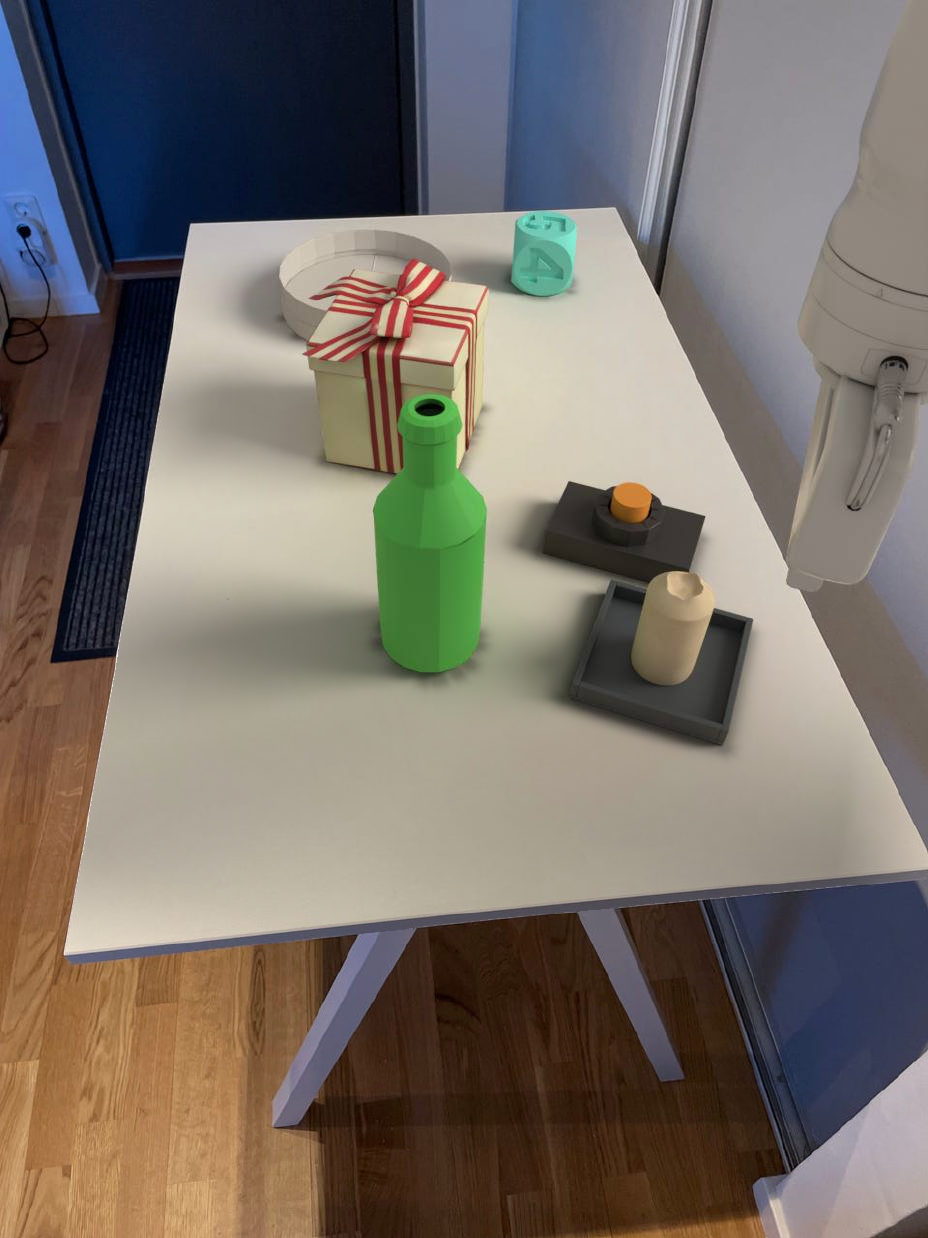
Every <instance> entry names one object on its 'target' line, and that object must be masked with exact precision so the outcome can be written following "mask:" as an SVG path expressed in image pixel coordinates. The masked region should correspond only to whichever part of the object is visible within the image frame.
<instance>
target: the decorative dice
mask: <svg viewBox="0 0 928 1238" xmlns="http://www.w3.org/2000/svg"><path fill="white" fill-rule="evenodd" d="M514 223H515V224H514V225H515V226H514V238H513V239H514V240H513V249H512V250H513V251H512V263H511V265H512V266H511V281H510V282H511V283H512V284H513V286H515V288H517V289H518V290H519V291H520V292H523V293H525V294H526V295H527V294H528V295H531V296H538V297H551V296H555V295H559V294H561V293H563V292H565V291H566V290H568V289H569V287H571V286H572V282H573V278H574V277H573V276H574V270H575V263H576V262H575V261H576V252H577V251H576V250H577V237H578V233H577V232H578V227H577V226H578V225H577V223H576V222H575V221H574V220H573V218H571V217H570V216H568V215H565V214H563V213H560V212H556V211H552V210H535V211H530V212H527V213H524V214H522V215H521V216H519V217H518V218H517V219H516V220H515V222H514Z"/></svg>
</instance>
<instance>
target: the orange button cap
mask: <svg viewBox="0 0 928 1238" xmlns="http://www.w3.org/2000/svg"><path fill="white" fill-rule="evenodd" d="M616 486H617V487H616V488H615V489H614V491H613V496H612V502H611V507H610V511H611V513H612V515H613V516H614V517H615V518H617V519H618V520H621V521H624V522H628V523H634V522H642V521H643V520H645V519H646V517H647V516H648V512H649V507H650V503H651V499H652V496H651V493H652V492H651V491H650V490H649V489H648V487H646V486H644V485H642V484H640V483H638V482H632V481H631V482H630V481H629V482H627V481H626V482H622V483H620V484H618V485H616ZM650 492H651V493H650Z"/></svg>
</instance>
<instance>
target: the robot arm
mask: <svg viewBox="0 0 928 1238" xmlns="http://www.w3.org/2000/svg"><path fill="white" fill-rule="evenodd" d="M858 145H859V146H858V162H857V166H856V170H855V175H854V177H853V180H852V183H851V186H850V188H849V190H848V191H847V193H846V195H845V196H844V199H843V200H842V201H841V202H840V204H839V206H838V207H837V209H836V210H835V211H834V214H833V215H832V217H831V220H830V221H829V224H828V226H827V231H826V234H825V236H824V240H823V242H822V245H821V248H820V251H819V255H818V257H817V261H816V264H815V267H814V270H813V273H812V276H811V279H810V282H809V285H808V288H807V291H806V294H805V296H804V300H803V303H802V306H801V309H800V312H799V315H798V319H797V331H798V335H799V337H800V340H801V342H802V344H803V345H804V347H805V348H806V349H807V350H808V351H809V352H810V353H811V354H812V365H813V367H814V369H815V371H816V373H817V374H818V376H819V377H820V378H821V379H820V384H819V390H818V395H817V400H816V404H815V409H814V413H813V419H812V424H811V429H810V435H809V440H808V444H807V450H806V454H805V459H804V464H803V469H802V475H801V480H800V484H799V488H798V489H799V490H798V495H797V500H796V506H795V510H794V515H793V520H792V524H791V529H790V530H791V531H790V535H789V540H788V545H787V549H786V550H787V551H786V559H785V562H786V565H787V567H788V570H787V574H786V579H785V583H786V585H787V586H789V587H790V589H791V588H792V589H796V590H799V591H802V592H807V593H812V594H813V593H816V592H818V591H820V589H821V587H822V586H823V583H824V581H827V582H831V583H836V584H840V585H845V586H853V585H856V584H858V583H859V582H861V581H862V580H864V578H865V577H866V576H867V574H868V573H869V571H870V569H871V568H872V567H871V566H872V565H873V562H874V561H875V559H876V556H877V554H878V552H879V549H880V547H881V545H882V543H883V541H884V538H885V536H886V534H887V532H888V529H889V527H890V525H891V522H892V520H893V518H894V516H895V514H896V511H897V509H898V507H899V504H900V502H901V499H902V497H903V495H904V492H905V491H906V490H905V489H906V487H907V484H908V482H909V479H910V476H911V473H912V470H913V466H914V463H915V459H916V455H917V450H918V442H919V430H920V429H919V427H920V413H921V406H923V405H926V404H928V0H908V1H907V3H906V5H905V7H904V10H903V12H902V15H901V17H900V20H899V22H898V24H897V27H896V29H895V32H894V35H893V36H892V39H891V42H890V44H889V47H888V50H887V53H886V56H885V58H884V60H883V63H882V66H881V68H880V72H879V74H878V77H877V80H876V82H875V85H874V88H873V91H872V94H871V97H870V100H869V104H868V106H867V110H866V112H865V114H864V118H863V121H862V125H861V127H860V134H859V143H858Z"/></svg>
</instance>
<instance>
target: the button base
mask: <svg viewBox="0 0 928 1238" xmlns="http://www.w3.org/2000/svg"><path fill="white" fill-rule="evenodd" d="M617 486H618V485H612V486H610V487H609V488H607V489H602V488H599V487H595V486H590V485H586V484H584V483H583V484H582V483H579V482H574V481H571V480H568V481H567V484H566V486H565V488H564V490H563V492H562V494H561V496H560V498H559V500H558V503H557V505H556V507H555V509H554V511H553V513H552V516H551V518H550V520H549V522H548V524H547V526H546V528H545V531H544V539H543V547H542V553H543V554H546V555H549V556H553V557H556V558H560V559H563V560H567V561H571V562H575V563H578V564H582V565H585V566H589V567H593V568H596V569H600V570H604V571H607V572H611V573H614V574H618V575H621V576H625V577H629V578H632V579H636V580H640V581H642V582H647V583H650V582H651V581H652V579H654V578H655V577H656V576H658V575H660V574H663V573H666V572H672V571H681V572H687V573H690V570H691V568H692V564H693V561H694V557H695V554H696V550H697V547H698V544H699V540H700V536H701V533H702V530H703V528H704V523H705V520H706V515H703V514H699V513H696V512H691V511H688V510H683V509H679V508H676V507H672V506H668V505H664V504H663V503H662V501H661V499H660V498H659V497H658V496H656V495H655V494H654V493H652V492H651V491H650V493H651V496H652V499H651V503H650V507H649V512H648V516H647V517H646V519H645V520H643V521H642V522H634V523H628V522H624V521H621V520H618V519H617V518H615V517H614V516H613V515H612V513H611V511H610V507H611V502H612V496H613V491H614V489H615V488H616V487H617Z"/></svg>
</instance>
